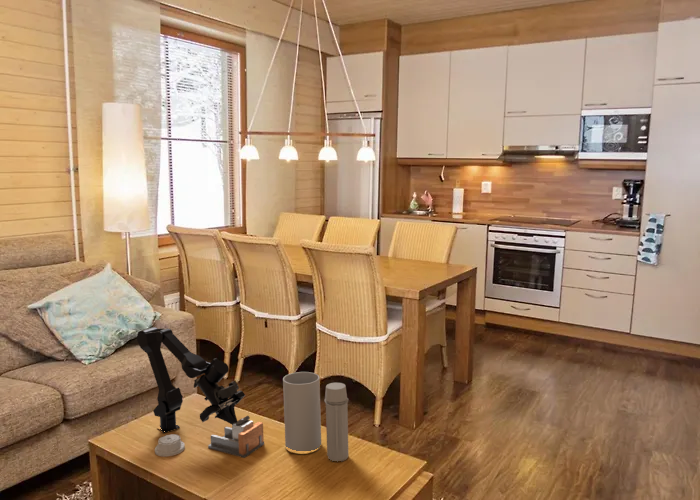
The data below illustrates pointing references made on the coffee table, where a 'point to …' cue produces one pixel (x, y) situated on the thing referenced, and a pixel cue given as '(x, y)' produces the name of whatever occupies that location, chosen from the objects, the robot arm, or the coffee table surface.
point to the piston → (240, 426)
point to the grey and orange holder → (245, 445)
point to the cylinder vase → (302, 411)
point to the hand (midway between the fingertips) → (236, 425)
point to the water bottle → (336, 421)
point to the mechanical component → (169, 445)
